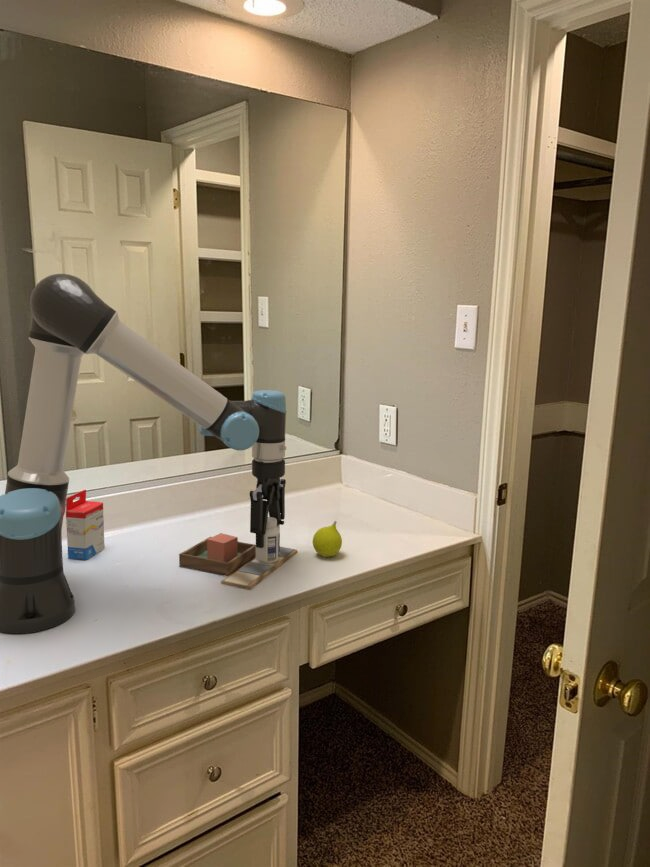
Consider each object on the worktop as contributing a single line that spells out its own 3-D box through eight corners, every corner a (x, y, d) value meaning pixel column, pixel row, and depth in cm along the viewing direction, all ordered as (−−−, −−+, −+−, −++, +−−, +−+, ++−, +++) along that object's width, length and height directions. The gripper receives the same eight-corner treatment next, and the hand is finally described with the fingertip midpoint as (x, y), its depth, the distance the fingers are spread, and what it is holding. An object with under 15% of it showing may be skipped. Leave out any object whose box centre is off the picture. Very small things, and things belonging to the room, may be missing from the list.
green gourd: (346, 558, 157) (348, 518, 156) (320, 563, 154) (321, 522, 152) (332, 548, 164) (334, 510, 162) (307, 552, 160) (308, 513, 159)
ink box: (86, 561, 152) (83, 500, 149) (67, 558, 153) (64, 498, 150) (105, 548, 160) (103, 490, 157) (87, 546, 161) (84, 488, 158)
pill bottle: (264, 553, 157) (265, 514, 155) (283, 558, 154) (284, 518, 153) (251, 560, 152) (252, 520, 151) (270, 565, 150) (271, 524, 148)
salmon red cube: (223, 543, 150) (237, 537, 154) (207, 539, 152) (221, 533, 157) (223, 564, 151) (237, 557, 155) (207, 559, 153) (221, 552, 158)
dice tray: (228, 576, 145) (228, 563, 145) (179, 566, 150) (179, 554, 149) (256, 556, 157) (256, 545, 156) (210, 548, 162) (210, 536, 161)
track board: (249, 589, 139) (249, 586, 139) (221, 583, 141) (221, 580, 141) (297, 552, 160) (297, 549, 160) (272, 547, 163) (272, 544, 163)
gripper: (264, 469, 139) (263, 572, 143) (300, 452, 156) (298, 545, 160) (233, 465, 142) (233, 566, 146) (272, 449, 159) (271, 540, 163)
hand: (267, 555), depth 153 cm, fingers closed on pill bottle, 5 cm apart
